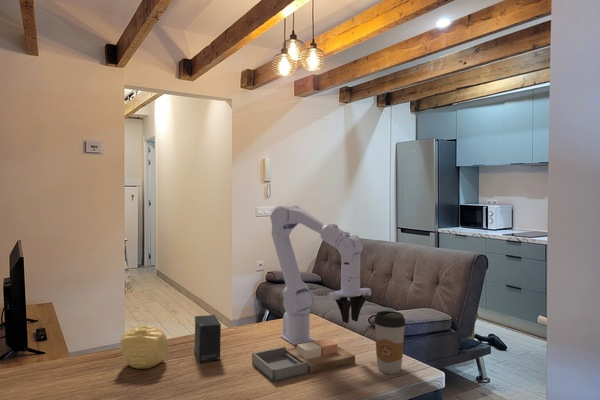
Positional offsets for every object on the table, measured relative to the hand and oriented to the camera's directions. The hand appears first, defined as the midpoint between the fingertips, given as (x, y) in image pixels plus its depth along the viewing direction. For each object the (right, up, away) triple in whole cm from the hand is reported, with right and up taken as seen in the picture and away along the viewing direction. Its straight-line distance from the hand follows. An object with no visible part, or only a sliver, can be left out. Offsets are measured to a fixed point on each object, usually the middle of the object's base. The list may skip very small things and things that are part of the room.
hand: (350, 321), depth 124 cm
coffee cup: (+9, -10, -12) cm, 18 cm away
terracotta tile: (-8, -7, -5) cm, 12 cm away
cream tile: (-13, -7, -7) cm, 16 cm away
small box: (-42, -9, -3) cm, 44 cm away
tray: (-21, -9, -12) cm, 26 cm away
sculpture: (-58, -9, -10) cm, 60 cm away
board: (-10, -9, -6) cm, 14 cm away
